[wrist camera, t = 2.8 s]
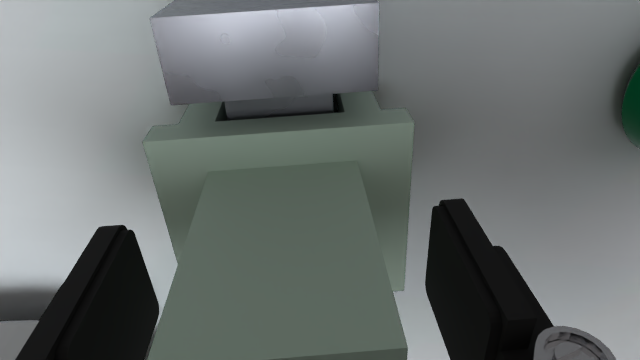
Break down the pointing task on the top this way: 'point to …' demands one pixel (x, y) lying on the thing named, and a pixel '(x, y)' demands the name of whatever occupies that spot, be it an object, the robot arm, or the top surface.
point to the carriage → (284, 232)
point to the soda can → (632, 108)
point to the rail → (267, 53)
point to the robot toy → (14, 337)
